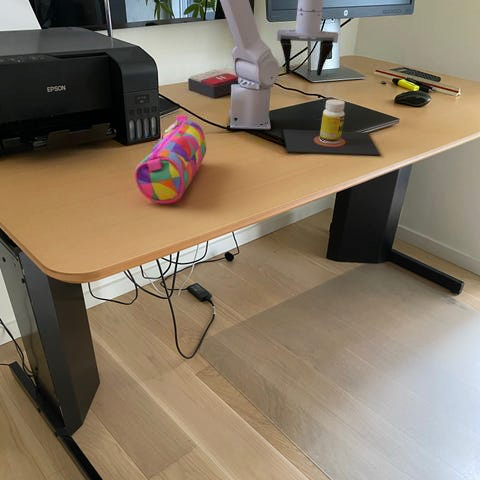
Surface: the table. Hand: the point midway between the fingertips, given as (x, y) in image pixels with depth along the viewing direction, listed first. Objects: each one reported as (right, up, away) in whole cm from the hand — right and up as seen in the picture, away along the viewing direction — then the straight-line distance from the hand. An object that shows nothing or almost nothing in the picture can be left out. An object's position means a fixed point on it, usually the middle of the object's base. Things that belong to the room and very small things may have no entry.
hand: (303, 74), depth 125 cm
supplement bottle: (+5, -20, -11) cm, 23 cm away
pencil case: (-28, -35, -30) cm, 54 cm away
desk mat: (+5, -21, -10) cm, 24 cm away
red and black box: (-21, +6, +21) cm, 30 cm away
